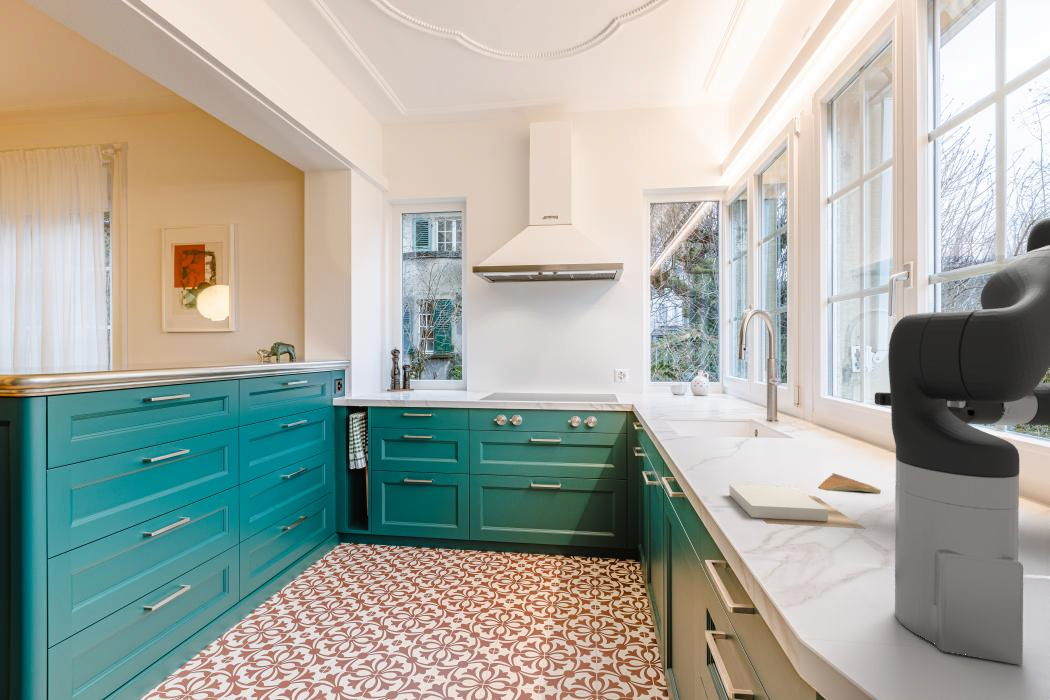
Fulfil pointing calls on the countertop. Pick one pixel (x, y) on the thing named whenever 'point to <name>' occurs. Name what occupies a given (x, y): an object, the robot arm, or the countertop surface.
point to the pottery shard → (846, 484)
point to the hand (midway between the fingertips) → (877, 398)
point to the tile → (777, 503)
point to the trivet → (833, 521)
